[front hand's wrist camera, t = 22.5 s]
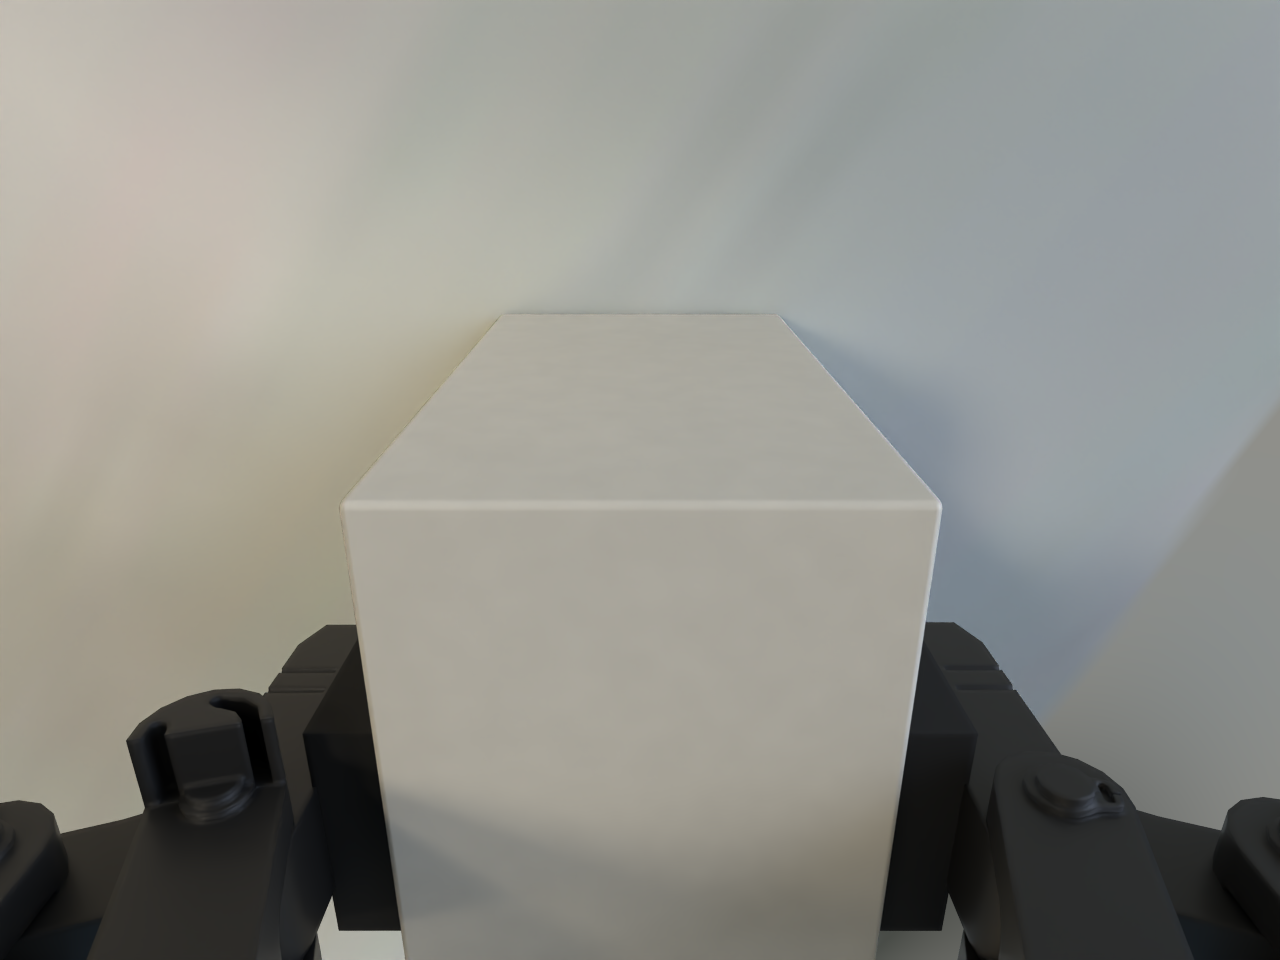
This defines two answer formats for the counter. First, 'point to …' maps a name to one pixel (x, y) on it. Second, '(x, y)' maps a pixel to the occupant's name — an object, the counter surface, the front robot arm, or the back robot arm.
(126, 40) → the counter surface
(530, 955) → the block
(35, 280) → the counter surface
